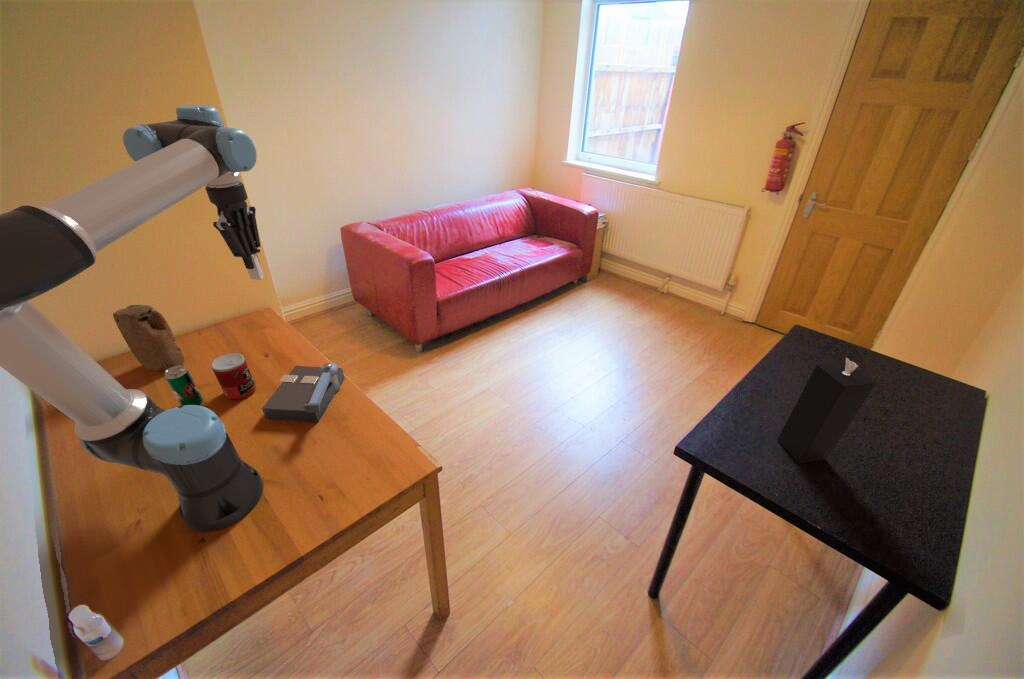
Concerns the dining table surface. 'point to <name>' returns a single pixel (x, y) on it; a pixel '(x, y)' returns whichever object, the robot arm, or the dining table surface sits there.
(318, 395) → the swing bar
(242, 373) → the canned food
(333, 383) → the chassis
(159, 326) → the brown rough lump
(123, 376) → the dining table surface
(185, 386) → the soda can
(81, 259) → the robot arm
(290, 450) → the dining table surface
